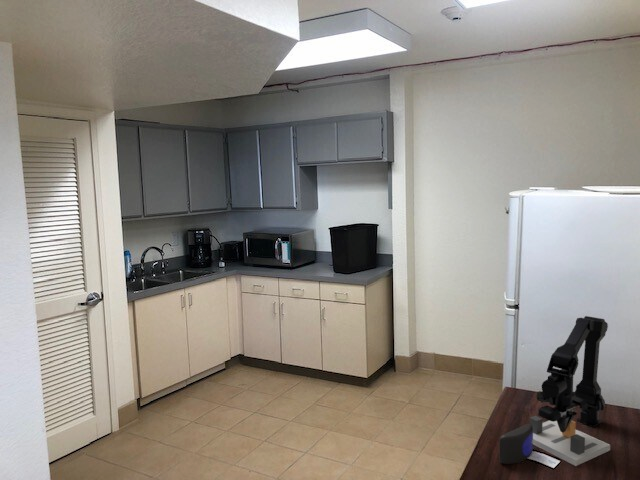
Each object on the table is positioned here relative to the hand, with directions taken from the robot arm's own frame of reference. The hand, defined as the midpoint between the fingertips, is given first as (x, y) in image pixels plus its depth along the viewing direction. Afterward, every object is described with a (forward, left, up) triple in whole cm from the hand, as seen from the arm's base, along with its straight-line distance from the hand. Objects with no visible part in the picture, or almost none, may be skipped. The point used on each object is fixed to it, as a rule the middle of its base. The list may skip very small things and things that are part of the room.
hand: (562, 431), depth 179 cm
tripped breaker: (-3, 0, -2) cm, 4 cm away
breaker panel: (0, 0, -4) cm, 4 cm away
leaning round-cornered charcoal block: (+20, -3, -5) cm, 20 cm away
